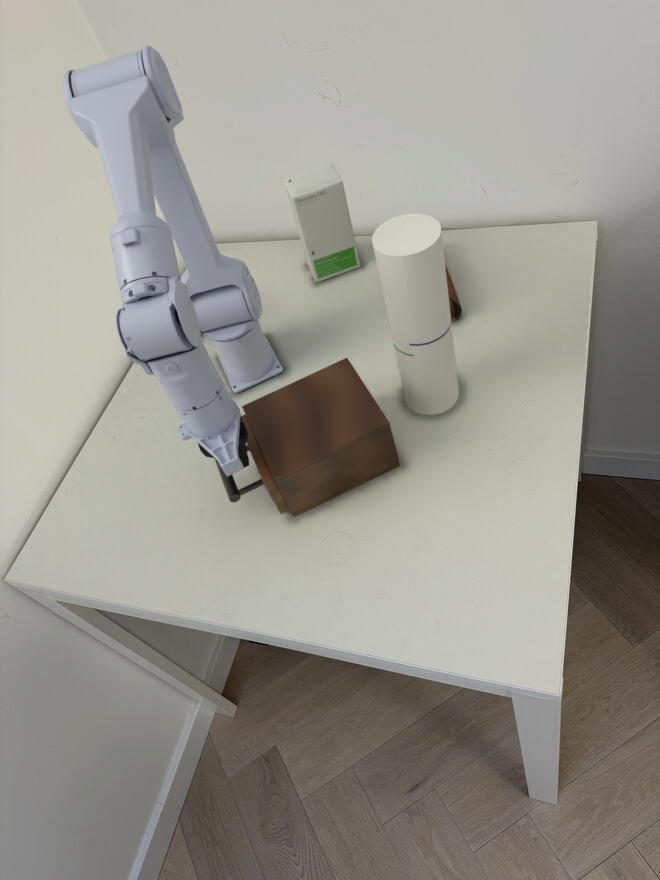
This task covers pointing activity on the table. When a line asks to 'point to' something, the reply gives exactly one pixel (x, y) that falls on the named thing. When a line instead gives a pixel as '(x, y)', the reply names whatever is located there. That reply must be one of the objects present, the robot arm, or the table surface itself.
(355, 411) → the cabinet
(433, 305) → the cylindrical container
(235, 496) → the drawer
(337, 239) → the cosmetic box
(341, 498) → the table surface
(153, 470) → the table surface
